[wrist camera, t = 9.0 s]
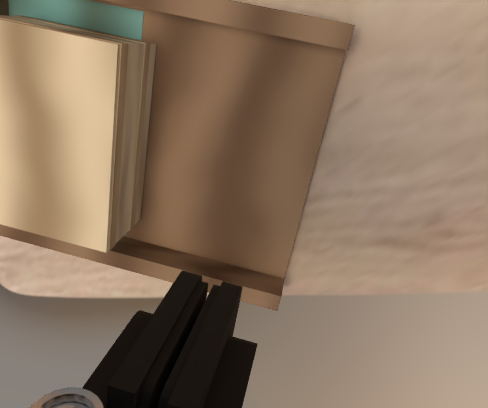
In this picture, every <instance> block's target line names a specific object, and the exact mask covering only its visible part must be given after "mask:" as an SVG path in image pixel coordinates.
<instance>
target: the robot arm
mask: <svg viewBox="0 0 488 408" xmlns="http://www.w3.org/2000/svg"><path fill="white" fill-rule="evenodd" d="M242 288H243V287H242V286H239V285H235V284H232V283H228V282H224V281H223V282H222V284H221V286H218V285H213V287H212V289H211V291H210V293H209V295H208V297H207V299H206V296H207V290H208V283H207V282H203V281H202V275H198V274H194V273H191V272H187V271H181V272H180V274H179V275H178V277H177V278H176V280H175V282H174V283H173V285H172V286H171V288H170V289H169V291H168V292H167V294H166V295H165V297H164V299H163V300H162V302H161V303H160V305H159V306H158V308H157V309H156V311H155V313H154V314H151V313H147V312H144V311H138V312H137V313H136V314H135V315H134V316H133V318H132V319H131V321H130V322H129V323H128V325H127V326H126V327H125V329H124V330H123V332H122V333H121V334H120V336H119V337H118V339H117V340H116V341H115V343H114V344H113V346H112V347H111V348H110V350H109V351H108V353H107V354H106V355H105V357H104V358H103V360H102V361H101V363H100V364H99V365H98V367H97V368H96V369H95V371H94V372H93V374H92V375H91V376H90V378H89V379H88V381H87V382H86V383H85V385H84V386H83V388H63V389H59V390H55V391H53V392H51V393H48V394H46V395H44V396H43V397H42V398H40V399H39V400H38V401H36V402H35V403H34V404H33V405H32V406H31V407H30V408H242V405H243V401H244V397H245V392H246V389H247V384H248V381H249V376H250V372H251V368H252V364H253V360H254V356H255V352H256V348H257V343H253V342H250V341H246V340H243V339H239V338H236V337H232V336H233V332H234V327H235V322H236V317H237V312H238V308H239V303H240V298H241V293H242Z"/></svg>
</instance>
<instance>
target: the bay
mask: <svg viewBox="0 0 488 408" xmlns="http://www.w3.org/2000/svg"><path fill="white" fill-rule="evenodd" d="M0 15H6V16H14V15H20V16H26V17H34V18H39V19H44V20H48V21H53V22H58V23H62V24H67V25H72V26H77V27H81V28H86V29H91V30H95V31H100V32H105V33H109V34H114V35H119V36H123V37H128V38H133V39H137V40H142V41H147V42H152V43H156V53H155V64H154V75H153V86H152V96H151V107H150V118H149V129H148V140H147V151H146V162H145V173H144V184H143V195H142V206H141V217H140V220H139V221H138V222H137V223H136V224H135V227H133V228H132V229H131V230H130V231H128V232H127V233H126V234H125V235H124V236H123V237H122V238H121V239H120V240H119V241H118V242H117V243H116V244H115V246H114V247H113V248H112V249H111V250H110V251H107V252H106V253H105V252H102V251H98V250H94V249H90V248H87V247H83V246H79V245H76V244H72V243H68V242H64V241H61V240H57V239H53V238H50V237H46V236H42V235H38V234H35V233H31V232H27V231H23V230H20V229H16V228H12V227H9V226H5V225H1V224H0V236H4V237H7V238H11V239H15V240H18V241H22V242H26V243H29V244H33V245H37V246H40V247H44V248H48V249H52V250H55V251H59V252H63V253H66V254H70V255H74V256H77V257H81V258H85V259H88V260H92V261H96V262H99V263H103V264H107V265H110V266H114V267H118V268H121V269H125V270H129V271H132V272H136V273H140V274H144V275H147V276H151V277H155V278H158V279H162V280H166V281H169V282H173V283H174V282H175V280H176V278H177V277H178V275H179V274H180V272H181V271H187V272H191V273H194V274H198V275H202V281H203V282H207V283H208V290H207V292H210V291H211V289H212V287H213V285H218V286H221V284H222V282H223V281H224V282H228V283H232V284H235V285H239V286H242V287H243V288H242V293H241V298H240V301H243V302H247V303H250V304H254V305H258V306H262V307H265V308H269V309H272V310H276V311H277V310H278V306H279V303H280V299H281V295H282V289H283V283H284V278H285V274H286V270H287V267H288V263H289V259H290V256H291V252H292V248H293V244H294V241H295V237H296V233H297V230H298V226H299V222H300V218H301V215H302V211H303V207H304V204H305V200H306V196H307V192H308V189H309V185H310V181H311V178H312V174H313V170H314V166H315V163H316V159H317V155H318V152H319V148H320V144H321V140H322V137H323V133H324V129H325V126H326V122H327V118H328V114H329V111H330V107H331V103H332V100H333V96H334V92H335V88H336V85H337V81H338V77H339V74H340V70H341V66H342V63H343V59H344V55H345V51H346V50H348V49H349V45H350V41H351V37H352V34H353V30H354V26H355V25H352V24H347V23H342V22H337V21H332V20H326V19H321V18H316V17H311V16H306V15H301V14H296V13H291V12H286V11H281V10H276V9H271V8H266V7H261V6H256V5H251V4H246V3H241V2H236V1H231V0H0Z"/></svg>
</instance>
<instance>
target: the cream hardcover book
mask: <svg viewBox="0 0 488 408" xmlns="http://www.w3.org/2000/svg"><path fill="white" fill-rule="evenodd" d="M155 53H156V43H152V42H147V41H142V40H137V39H133V38H128V37H123V36H119V35H114V34H109V33H105V32H100V31H95V30H91V29H86V28H81V27H77V26H72V25H67V24H62V23H58V22H53V21H48V20H44V19H39V18H34V17H26V16H20V15H14V16H6V15H0V224H1V225H5V226H9V227H12V228H16V229H20V230H23V231H27V232H31V233H35V234H38V235H42V236H46V237H50V238H53V239H57V240H61V241H64V242H68V243H72V244H76V245H79V246H83V247H87V248H90V249H94V250H98V251H102V252H105V253H106V252H107V251H110V250H111V249H112V248H113V247H114V246H115V244H116V243H117V242H118V241H119V240H120V239H121V238H122V237H123V236H124V235H125V234H126V233H127V232H128V231H130V230H131V229H132V228H133V227H135V224H136V223H137V222H138V221H139V220H140V217H141V206H142V195H143V184H144V173H145V162H146V151H147V140H148V129H149V118H150V107H151V96H152V86H153V75H154V64H155Z"/></svg>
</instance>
